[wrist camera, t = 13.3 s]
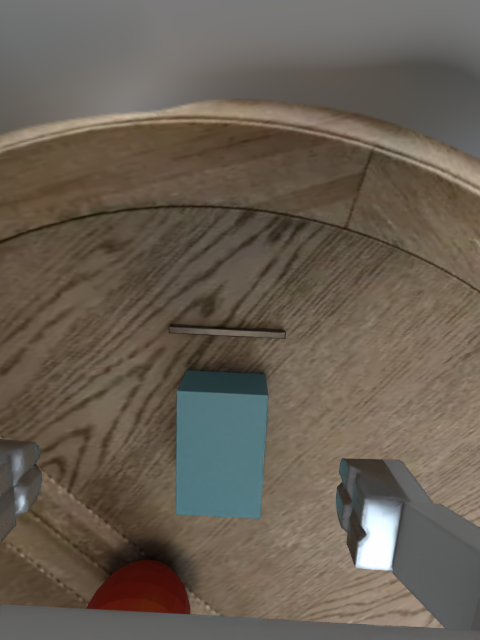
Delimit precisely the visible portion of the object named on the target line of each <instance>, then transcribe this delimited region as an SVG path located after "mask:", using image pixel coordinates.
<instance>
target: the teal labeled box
mask: <svg viewBox="0 0 480 640" xmlns="http://www.w3.org/2000/svg"><path fill="white" fill-rule="evenodd" d="M267 409H268V390H267V384H266V377H265V374H253V373H232V372H211V371H190V370H187V371H186V373H185V375H184V377H183V379H182V382H181V384H180V386H179V388H178V390H177V437H176V514H177V515H195V516H215V517H235V518H255V519H260V515H261V500H262V485H263V470H264V455H265V440H266V424H267Z"/></svg>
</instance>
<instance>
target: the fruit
mask: <svg viewBox="0 0 480 640" xmlns="http://www.w3.org/2000/svg"><path fill="white" fill-rule="evenodd" d="M87 609H100V610H118V611H137V612H155V613H173V614H190V604H189V600H188V596H187V593H186V589H185V586H184V584H183V583H182V581H181V580H180V578H179V577H178V576H177V574H176V573H175V572H174V571H173V570H172V569H171V568H170V567H168V566H167V565H165V564H163V563H160V562H157V561H155V560H140V561H135V562H132V563H130V564H128V565H126V566H124V567H122V568H121V569H119V570H117V571H115V572H114V573H113V574H112V575H111V576H110V577H109V578H108V579H107V580H106V581H105V582H104V583H103V584H102V585H101V586H100V588H99V589H98V590H97V591H96V593H95V594H94V596H93V598H92V599H91V601H90V602H89V604H88V607H87Z"/></svg>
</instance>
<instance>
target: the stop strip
mask: <svg viewBox="0 0 480 640" xmlns="http://www.w3.org/2000/svg"><path fill="white" fill-rule="evenodd" d="M169 333H177V334H197V335H218V336H238V337H258V338H279V339H285V337H286V332H285V331H279V330H259V329H239V328H218V327H198V326H177V325H170V326H169Z"/></svg>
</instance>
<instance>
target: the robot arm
mask: <svg viewBox="0 0 480 640" xmlns="http://www.w3.org/2000/svg"><path fill="white" fill-rule="evenodd" d="M39 458H40V452H39V445H38V444H36V443H35V442H31V441H17V440H4V439H0V544H1V542H2V541H3V540H4V539H5V538H6V536H7V535H8V534H9V533H10V532H11V530H12V529H13V528H14V527H15V526H16V517H17V516H19V515H21V514H23V513H25V512H26V511H28V510H29V509H30V508H31V506H32V505H33V504H34V503H35V501H36V499H37V497H38V494H39V492H40V490H41V484H42V472H41V470H40V469H39V468H38V467H37V465H36V464H35V463H36V462H37V460H38V459H39ZM339 474H340V476H341V479H342V482H341V484H340V485H339V486H338V487H337V494H336V506H337V514H338V519H339V522H340V525H341V527H342V528H343V529H344V530H345V531H346V532H347V533H348V534H347V542H346V543H347V545H348V548H349V551H350V554H351V557H352V560H353V563H354V565H355V568H365V569H377V570H389V571H393V572H392V573H393V574H394V575H395V576H396V577H397V578H398V579H399V580H400V581H401V582H402V583H403V584H404V585H405V587H406V588H407V589H408V590H409V591H410V592H411V593H412V594H413V595H414V596H415V597H416V598H417V599H418V600H419V601H420V602H421V603H422V604H423V605H424V606H425V608H426V609H427V610H428V611H429V612H430V613H431V614H432V615H433V616H434V617H435V618H436V619H437V620H438V621H439V622H440V623H441V624H442V625H443V626H444V627H445V629H443V628H425V627H406V626H387V625H367V624H347V623H330V622H313V621H295V620H278V619H261V618H243V617H226V616H209V615H192V614H173V613H155V612H137V611H118V610H100V609H81V608H63V607H44V606H26V605H8V604H0V640H480V528H479V527H478V526H476V525H475V524H473V523H471V522H470V521H468V520H466V519H465V518H463V517H461V516H460V515H458V514H456V513H455V512H453V511H451V510H450V509H448V508H446V507H445V506H443V505H441V504H434V503H433V502H432V500H431V499H430V498H429V496H428V495H427V494H426V492H425V491H424V490H423V488H422V487H421V486H420V484H419V483H418V482H417V480H416V479H415V478H414V476H413V475H412V474H411V472H410V471H409V470H408V468H407V467H406V466H405V464H404V463H403V462H402V461H400V460H393V459H380V460H378V459H345V458H342V460H341V463H340V468H339Z"/></svg>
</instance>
